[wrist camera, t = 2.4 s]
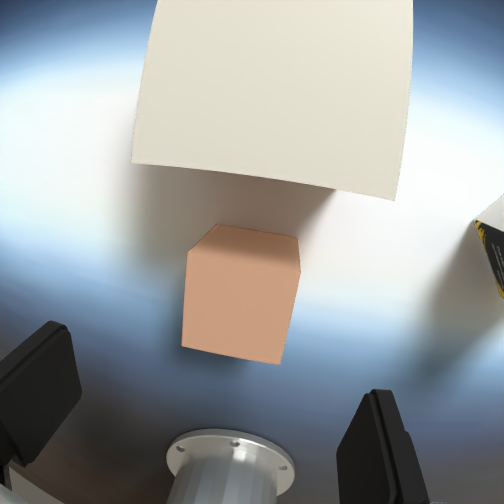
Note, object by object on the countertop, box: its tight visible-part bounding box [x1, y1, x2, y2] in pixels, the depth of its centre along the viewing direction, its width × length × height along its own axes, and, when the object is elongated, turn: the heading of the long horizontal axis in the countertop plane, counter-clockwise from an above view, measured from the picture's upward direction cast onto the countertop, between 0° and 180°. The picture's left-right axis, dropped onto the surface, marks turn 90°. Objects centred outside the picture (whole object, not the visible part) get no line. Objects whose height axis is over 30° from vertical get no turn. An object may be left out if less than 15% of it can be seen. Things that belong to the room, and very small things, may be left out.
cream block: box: [131, 0, 413, 201], centre depth 11 cm, size 9×9×4 cm
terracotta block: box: [182, 224, 301, 365], centre depth 18 cm, size 5×5×6 cm
